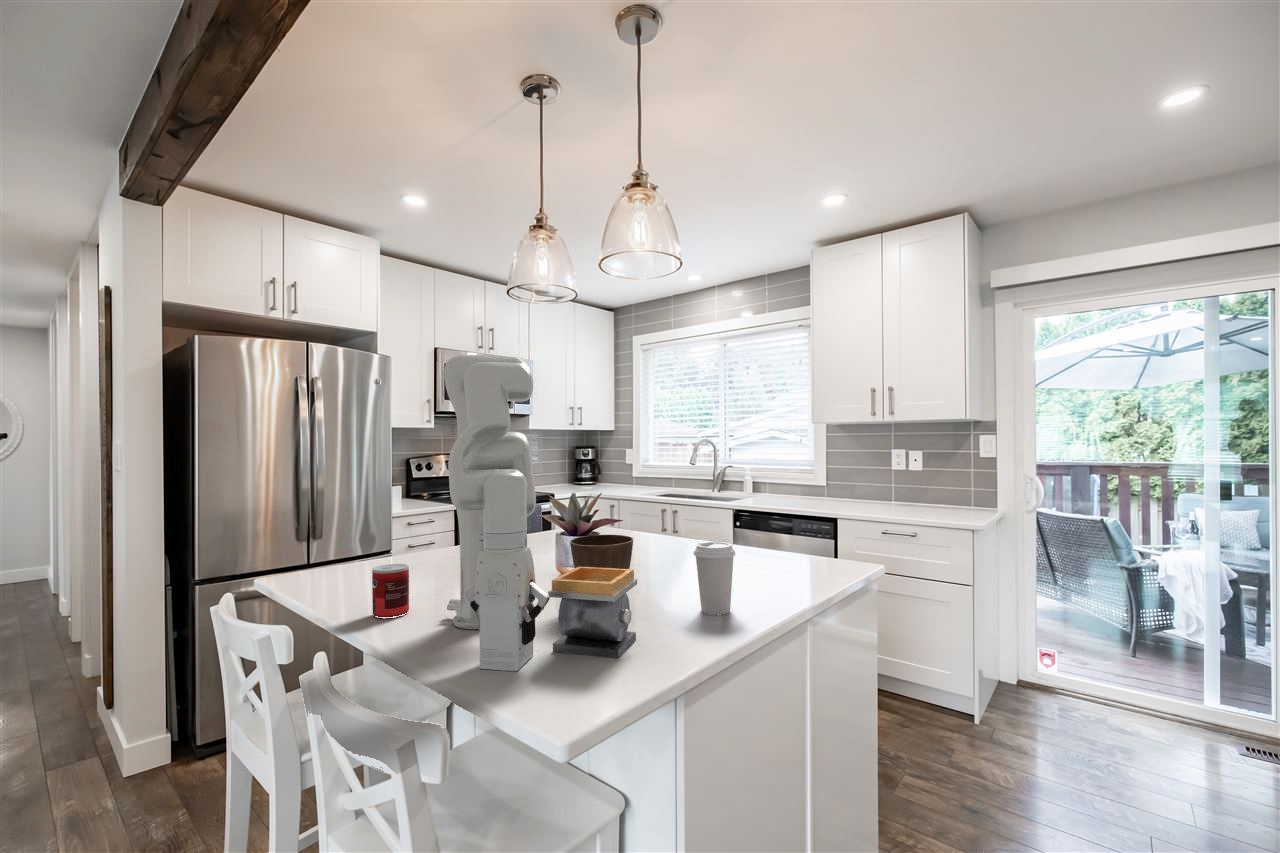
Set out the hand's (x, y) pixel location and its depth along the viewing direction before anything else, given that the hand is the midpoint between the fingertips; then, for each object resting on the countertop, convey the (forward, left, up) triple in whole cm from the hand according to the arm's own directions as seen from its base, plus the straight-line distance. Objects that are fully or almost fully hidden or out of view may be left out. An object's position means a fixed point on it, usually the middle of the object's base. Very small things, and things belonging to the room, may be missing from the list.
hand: (507, 639), depth 103 cm
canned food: (-42, +19, -4) cm, 46 cm away
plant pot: (+4, +36, -4) cm, 36 cm away
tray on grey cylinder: (+12, +12, -4) cm, 17 cm away
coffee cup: (+30, +40, -4) cm, 50 cm away
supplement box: (0, 0, -4) cm, 4 cm away
